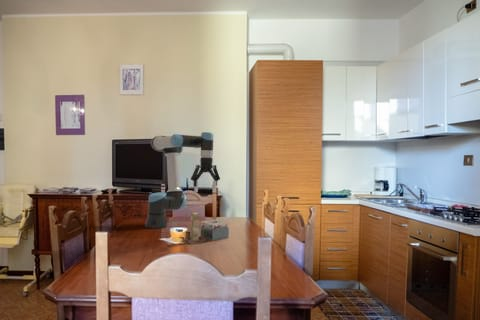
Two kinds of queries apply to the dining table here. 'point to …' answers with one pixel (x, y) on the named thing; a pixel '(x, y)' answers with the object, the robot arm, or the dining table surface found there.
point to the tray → (201, 240)
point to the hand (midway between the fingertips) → (205, 191)
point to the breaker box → (214, 230)
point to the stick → (194, 227)
